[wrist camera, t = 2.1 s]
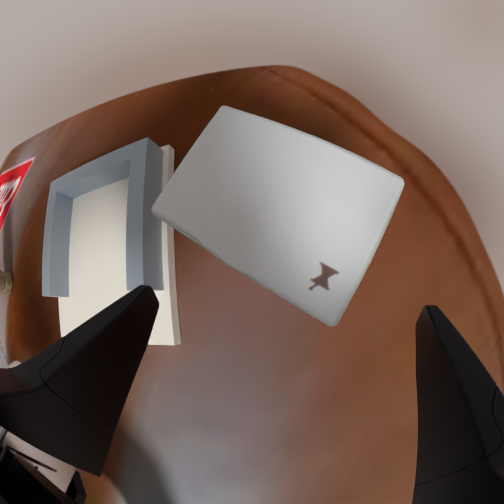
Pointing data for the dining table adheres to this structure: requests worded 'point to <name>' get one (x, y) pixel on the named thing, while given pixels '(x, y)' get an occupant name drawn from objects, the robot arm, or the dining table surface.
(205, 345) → the dining table surface
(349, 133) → the dining table surface
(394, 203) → the skincare box
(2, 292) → the handle
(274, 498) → the dining table surface
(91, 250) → the stop cradle
